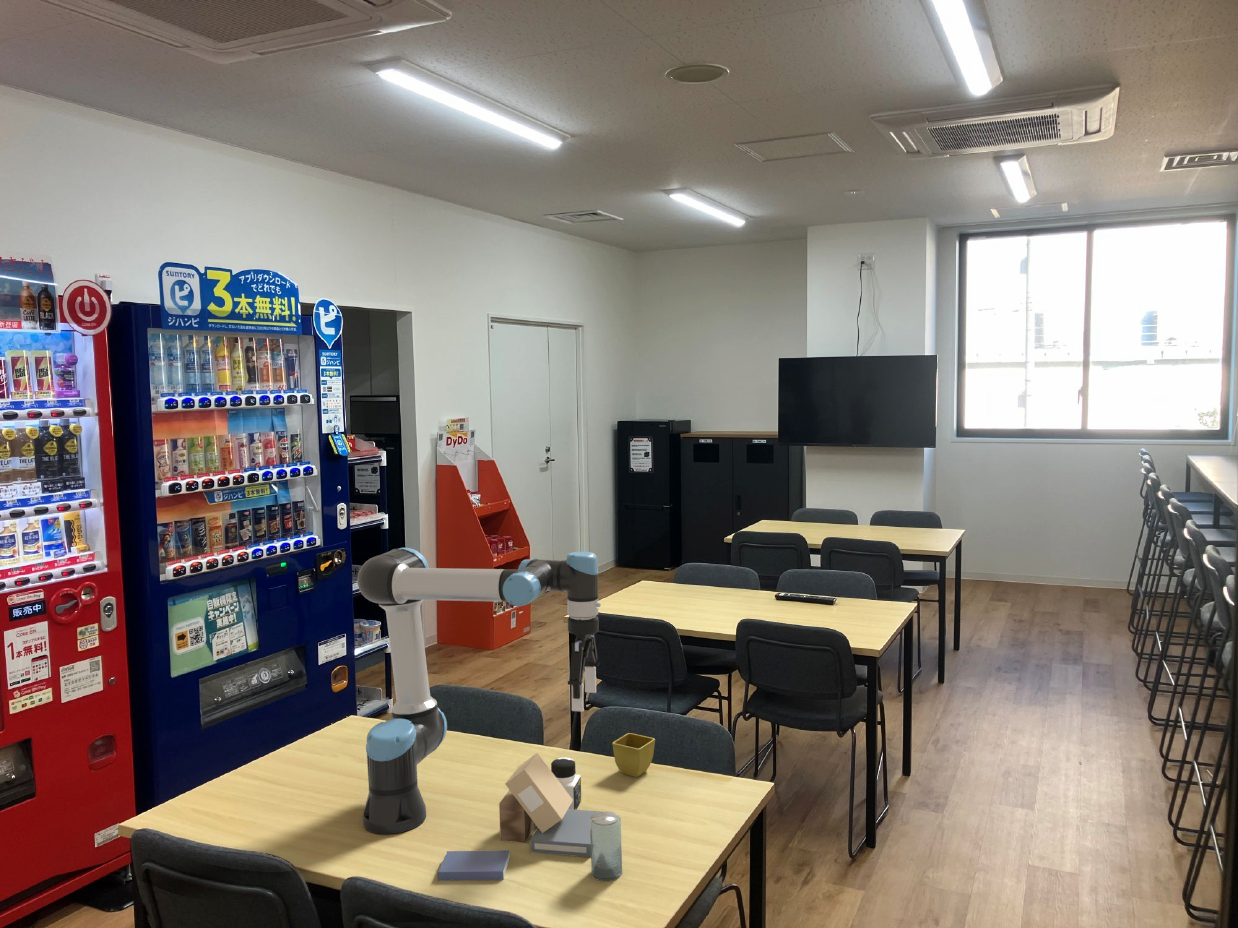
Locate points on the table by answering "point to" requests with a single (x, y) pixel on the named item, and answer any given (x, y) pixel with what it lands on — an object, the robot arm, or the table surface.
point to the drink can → (606, 846)
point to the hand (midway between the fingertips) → (584, 701)
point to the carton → (539, 792)
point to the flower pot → (633, 753)
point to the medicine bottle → (568, 779)
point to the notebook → (474, 865)
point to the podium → (566, 835)
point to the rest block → (514, 820)
